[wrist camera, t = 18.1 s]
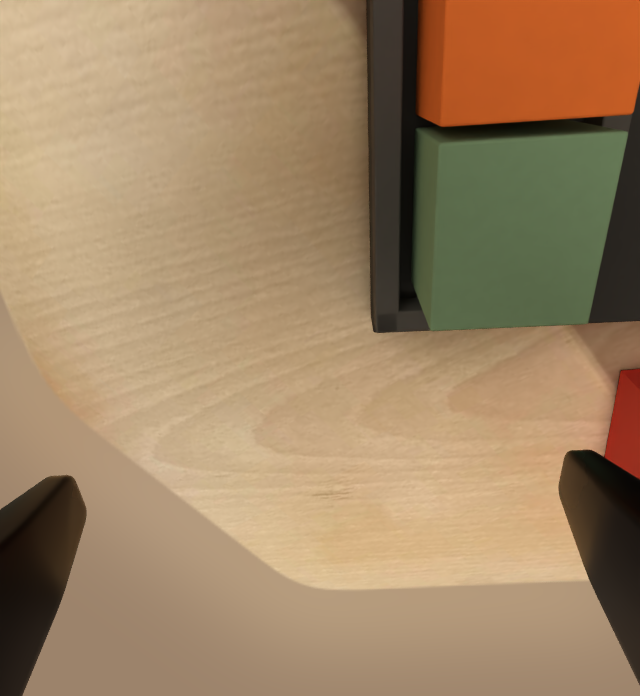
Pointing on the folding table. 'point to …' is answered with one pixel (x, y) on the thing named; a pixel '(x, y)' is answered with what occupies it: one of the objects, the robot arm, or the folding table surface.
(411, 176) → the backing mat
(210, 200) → the folding table surface
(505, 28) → the orange block
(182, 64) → the folding table surface
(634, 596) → the robot arm
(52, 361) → the folding table surface
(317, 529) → the folding table surface
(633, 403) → the red slab
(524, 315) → the green block
